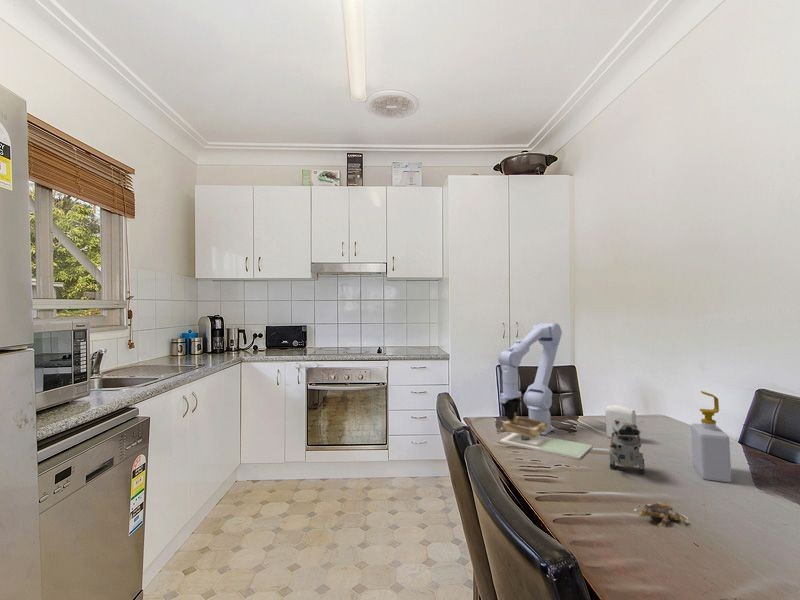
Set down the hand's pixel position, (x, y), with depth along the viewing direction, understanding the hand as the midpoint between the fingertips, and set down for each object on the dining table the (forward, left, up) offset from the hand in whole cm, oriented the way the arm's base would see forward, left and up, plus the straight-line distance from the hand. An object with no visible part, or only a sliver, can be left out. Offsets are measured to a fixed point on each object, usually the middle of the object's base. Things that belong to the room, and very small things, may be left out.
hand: (511, 418), depth 151 cm
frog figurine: (+33, +52, -8) cm, 62 cm away
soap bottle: (-4, +59, -8) cm, 60 cm away
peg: (0, +5, -7) cm, 8 cm away
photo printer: (-23, +32, -8) cm, 40 cm away
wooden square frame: (0, +5, -3) cm, 6 cm away
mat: (0, +19, -7) cm, 20 cm away
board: (0, +12, -8) cm, 14 cm away
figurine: (+9, +40, -8) cm, 42 cm away
